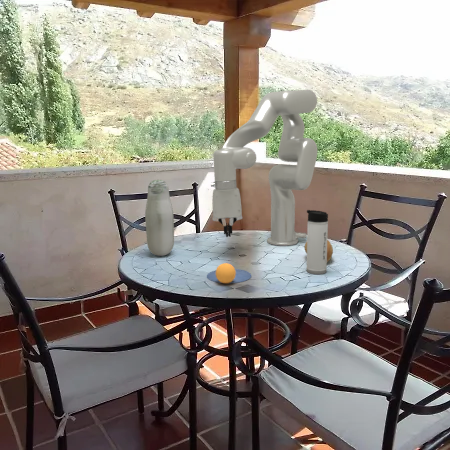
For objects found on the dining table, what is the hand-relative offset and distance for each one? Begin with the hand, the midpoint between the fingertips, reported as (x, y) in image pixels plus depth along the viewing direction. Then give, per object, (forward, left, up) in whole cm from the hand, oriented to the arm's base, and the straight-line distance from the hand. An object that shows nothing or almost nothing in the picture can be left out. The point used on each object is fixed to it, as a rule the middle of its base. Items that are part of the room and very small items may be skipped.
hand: (228, 235), depth 158 cm
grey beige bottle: (+25, -5, -8) cm, 27 cm away
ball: (+2, +28, -5) cm, 29 cm away
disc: (+1, +22, -8) cm, 23 cm away
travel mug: (-27, +20, -8) cm, 35 cm away
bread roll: (-31, +6, -8) cm, 33 cm away
